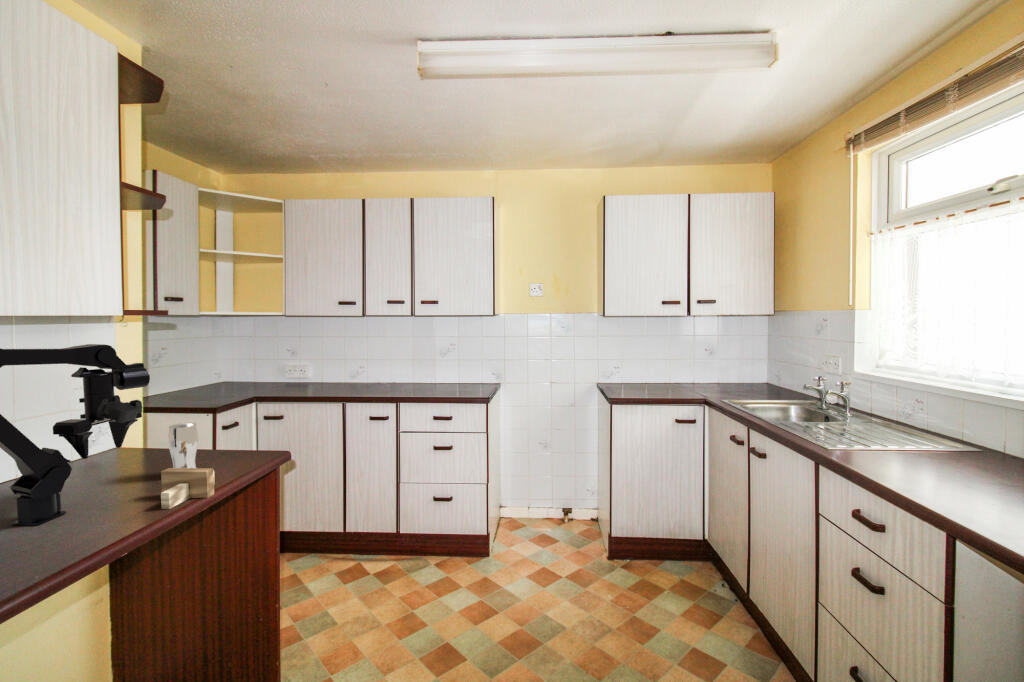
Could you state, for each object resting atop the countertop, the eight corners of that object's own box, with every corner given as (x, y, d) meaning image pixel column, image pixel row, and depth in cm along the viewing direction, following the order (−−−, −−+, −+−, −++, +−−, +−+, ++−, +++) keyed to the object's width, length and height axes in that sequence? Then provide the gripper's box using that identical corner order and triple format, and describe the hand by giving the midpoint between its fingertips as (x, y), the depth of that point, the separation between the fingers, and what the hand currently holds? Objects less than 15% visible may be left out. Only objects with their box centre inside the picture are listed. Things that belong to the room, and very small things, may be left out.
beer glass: (194, 477, 130) (191, 427, 129) (165, 480, 128) (163, 429, 127) (202, 470, 136) (200, 421, 135) (175, 472, 134) (173, 423, 133)
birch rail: (169, 509, 109) (168, 493, 108) (161, 508, 109) (160, 492, 108) (214, 484, 125) (214, 470, 124) (207, 484, 125) (207, 470, 124)
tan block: (207, 498, 115) (206, 471, 115) (162, 497, 116) (161, 471, 115) (214, 494, 118) (213, 468, 117) (169, 493, 118) (168, 468, 118)
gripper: (94, 400, 104) (98, 465, 105) (159, 387, 123) (162, 442, 124) (48, 399, 104) (52, 465, 105) (120, 387, 123) (123, 442, 124)
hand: (102, 452), depth 115 cm, fingers open, 9 cm apart
